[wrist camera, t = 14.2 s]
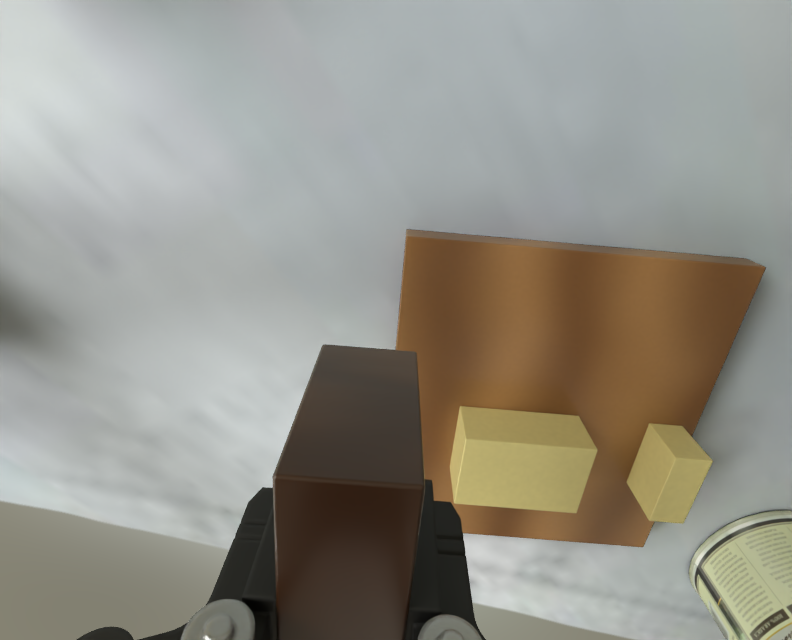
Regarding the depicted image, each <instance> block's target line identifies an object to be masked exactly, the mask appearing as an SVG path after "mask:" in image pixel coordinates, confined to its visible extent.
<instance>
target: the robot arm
mask: <svg viewBox="0 0 792 640" xmlns="http://www.w3.org/2000/svg"><path fill="white" fill-rule="evenodd" d="M77 640H133V637H132V636H131V635H130V633H129V632H128V631H126V630H124V629H122V628H118V627H104V628H100V629H97V630H94V631H91V632H89V633H87V634H85V635H83V636H82V637H80V638H79V639H77ZM139 640H277V614H276V578H275V543H274V508H273V488H262V489H261V490H260V491H259V492H258V493H257V494H256V495H255V496H254V497H253V498H252V499H251V500H250V501H249V503H248V505H247V508H246V510H245V513H244V515H243V518H242V520H241V524H240V525H239V528H238V530H237V533H236V536H235V539H234V540H233V542H232V545H231V547H230V550H229V552H228V555H227V557H226V560H225V562H224V565H223V567H222V570H221V572H220V575H219V577H218V580H217V582H216V585H215V587H214V590H213V593H212V595H211V597H210V599H209V601H208V603H207V604H206V606H204V607H203V608H201V609H200V610H199V611H198V612H196V613H195V615H194V616H193V617H192V618H191V619H190V620H189V622H188V623H186V624H185V625H183V626H181V627H179V628H177V629H175V630H172V631H169V632H166V633H162V634H158V635H155V636H151V637H147V638H143V639H139ZM405 640H486V639H485V638H484V637H483V635H482V634H481V632H480V631H479V629H478V627H477V624H476V621H475V618H474V613H473V605H472V598H471V590H470V583H469V576H468V568H467V561H466V556H465V546H464V541H463V531H462V524H461V518H460V516H459V515H458V513H457V511H456V510H455V508H454V506H453V505H452V503H451V502H446V501H434V496H433V483H432V480H428V479H425V494H424V502H423V509H422V516H421V524H420V531H419V539H418V546H417V553H416V561H415V568H414V576H413V583H412V590H411V598H410V605H409V612H408V620H407V627H406V635H405Z"/></svg>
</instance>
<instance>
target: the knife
mask: <svg viewBox="0 0 792 640" xmlns="http://www.w3.org/2000/svg"><path fill="white" fill-rule="evenodd" d="M424 494H425V475H424V459H423V442H422V426H421V410H420V394H419V377H418V361H417V353H416V352H413V351H401V350H388V349H376V348H363V347H350V346H338V345H323V346H322V348H321V350H320V353H319V356H318V358H317V361H316V364H315V366H314V369H313V372H312V374H311V377H310V379H309V382H308V385H307V387H306V390H305V393H304V395H303V398H302V401H301V403H300V406H299V408H298V411H297V414H296V416H295V419H294V422H293V424H292V427H291V430H290V432H289V435H288V437H287V440H286V443H285V445H284V448H283V451H282V453H281V456H280V459H279V461H278V464H277V467H276V469H275V472H274V474H273V508H274V543H275V578H276V614H277V640H405V635H406V627H407V620H408V612H409V605H410V598H411V590H412V583H413V576H414V568H415V561H416V553H417V546H418V539H419V531H420V524H421V516H422V509H423V502H424Z"/></svg>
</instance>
